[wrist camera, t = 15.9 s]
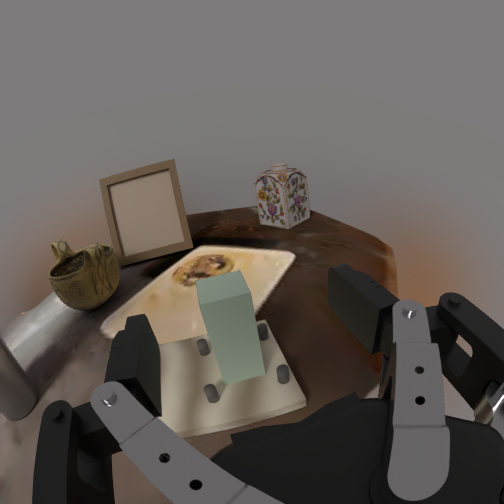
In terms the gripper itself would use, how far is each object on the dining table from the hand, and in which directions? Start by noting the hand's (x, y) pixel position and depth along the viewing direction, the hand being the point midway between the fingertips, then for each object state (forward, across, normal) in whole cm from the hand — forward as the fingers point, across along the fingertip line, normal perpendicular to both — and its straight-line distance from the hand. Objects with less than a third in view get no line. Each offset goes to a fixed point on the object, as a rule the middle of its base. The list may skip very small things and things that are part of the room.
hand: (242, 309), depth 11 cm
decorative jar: (+68, -26, +22) cm, 76 cm away
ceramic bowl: (+45, +28, +22) cm, 57 cm away
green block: (+15, 0, +20) cm, 25 cm away
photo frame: (+68, +14, +22) cm, 73 cm away
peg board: (+15, +6, +21) cm, 27 cm away
